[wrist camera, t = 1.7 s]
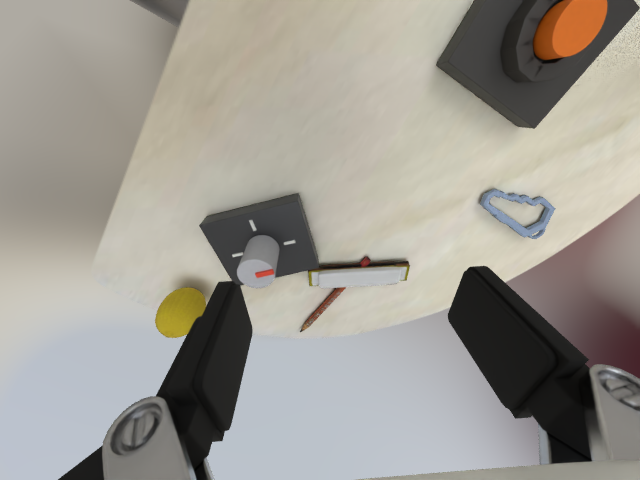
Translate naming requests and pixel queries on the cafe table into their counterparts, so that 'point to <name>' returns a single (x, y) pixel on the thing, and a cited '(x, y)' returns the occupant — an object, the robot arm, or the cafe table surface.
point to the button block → (520, 56)
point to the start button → (568, 28)
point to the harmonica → (359, 274)
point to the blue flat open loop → (513, 224)
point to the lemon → (179, 312)
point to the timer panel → (263, 219)
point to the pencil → (329, 300)
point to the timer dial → (259, 262)
